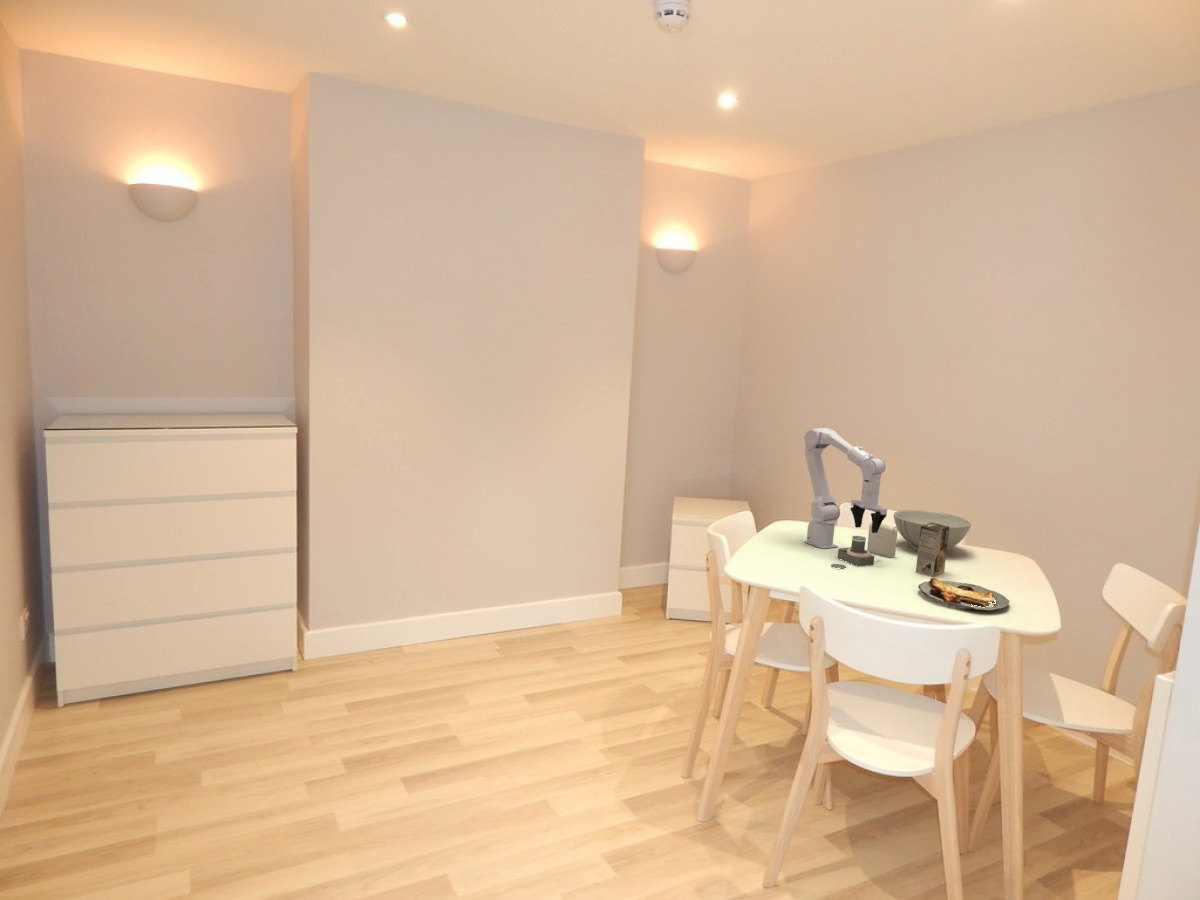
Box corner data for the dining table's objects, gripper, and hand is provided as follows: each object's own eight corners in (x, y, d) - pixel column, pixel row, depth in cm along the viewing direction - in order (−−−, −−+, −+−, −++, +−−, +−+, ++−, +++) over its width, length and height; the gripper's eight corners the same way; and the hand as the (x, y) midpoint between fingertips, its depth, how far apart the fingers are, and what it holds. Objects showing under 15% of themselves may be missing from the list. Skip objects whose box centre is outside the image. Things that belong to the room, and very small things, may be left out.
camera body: (836, 558, 272) (837, 547, 272) (852, 556, 276) (853, 545, 275) (858, 566, 264) (859, 554, 263) (874, 564, 267) (875, 552, 267)
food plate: (910, 599, 232) (912, 587, 232) (926, 581, 252) (927, 571, 251) (1002, 621, 219) (1004, 610, 218) (1011, 601, 238) (1013, 590, 238)
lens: (847, 552, 270) (849, 535, 269) (858, 552, 271) (860, 535, 270) (855, 556, 265) (857, 539, 265) (866, 555, 267) (868, 538, 266)
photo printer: (864, 551, 284) (868, 518, 282) (871, 549, 287) (874, 517, 285) (890, 558, 276) (894, 524, 274) (896, 556, 279) (900, 523, 277)
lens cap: (827, 566, 263) (827, 564, 263) (838, 565, 265) (838, 563, 265) (838, 571, 259) (838, 568, 259) (849, 569, 261) (849, 567, 261)
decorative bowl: (878, 547, 291) (881, 515, 289) (907, 535, 310) (910, 506, 309) (951, 564, 273) (956, 530, 271) (977, 551, 292) (981, 520, 290)
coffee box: (925, 567, 267) (931, 522, 265) (944, 572, 263) (950, 526, 260) (914, 572, 261) (920, 525, 258) (933, 577, 256) (939, 530, 254)
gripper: (846, 488, 275) (842, 525, 277) (878, 497, 263) (874, 536, 265) (860, 487, 279) (856, 524, 281) (893, 496, 266) (888, 534, 268)
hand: (866, 529), depth 273 cm, fingers open, 7 cm apart
